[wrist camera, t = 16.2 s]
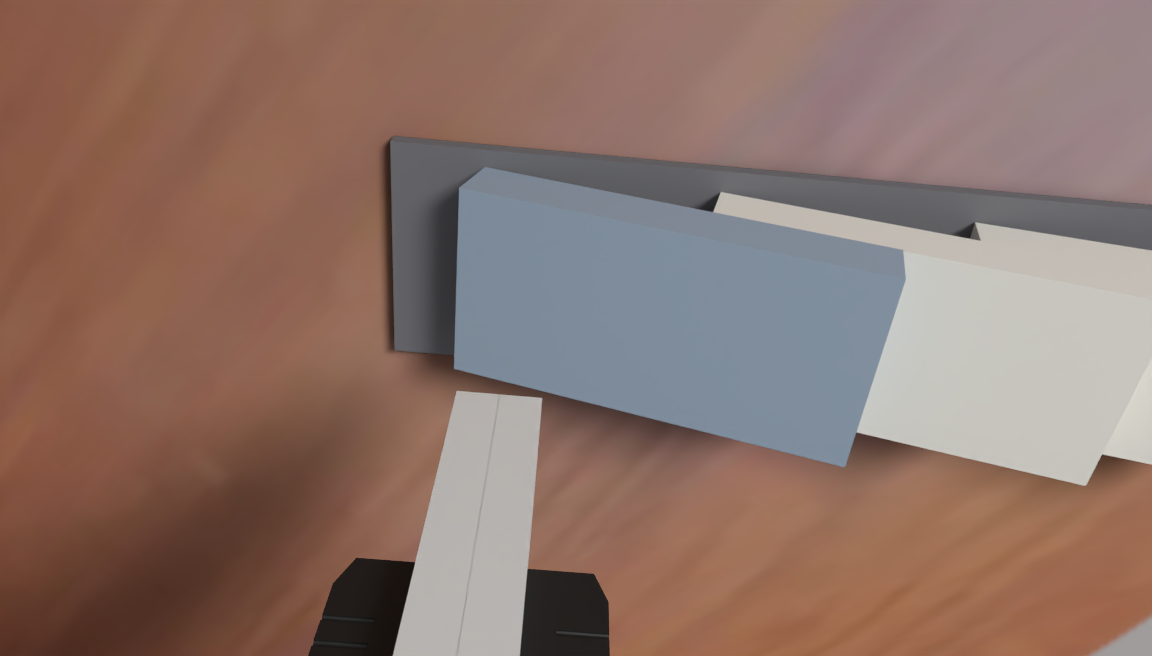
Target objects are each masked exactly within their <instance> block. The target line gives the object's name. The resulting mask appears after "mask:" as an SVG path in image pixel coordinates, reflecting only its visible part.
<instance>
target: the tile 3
mask: <svg viewBox="0 0 1152 656" xmlns="http://www.w3.org/2000/svg"><path fill="white" fill-rule="evenodd" d="M970 239H974V240H979V241H984V242H989V243H995V244H1000V245H1005V246H1011V247H1016V248H1021V249H1027V250H1032V251H1037V252H1043V253H1048V254H1053V255H1059V256H1064V257H1069V258H1075V259H1080V260H1085V261H1090V262H1096V263H1101V264H1106V265H1112V266H1117V267H1122V268H1128V269H1133V270H1138V271H1144V272H1149V273H1152V251H1151V250H1145V249H1139V248H1133V247H1126V246H1120V245H1114V244H1108V243H1101V242H1095V241H1089V240H1083V239H1077V238H1070V237H1064V236H1058V235H1052V234H1045V233H1039V232H1033V231H1027V230H1020V229H1014V228H1008V227H1002V226H995V225H989V224H983V223H977V222H975V224H974V227H973V230H972V233H971V236H970ZM1103 455H1108V456H1113V457H1118V458H1122V459H1127V460H1132V461H1137V462H1142V463H1147V464H1151V465H1152V358H1151V360H1150V362H1149V364H1148V366H1147V368H1146V370H1145V372H1144V374H1143V376H1142V378H1141V380H1140V382H1139V384H1138V386H1137V388H1136V389H1135V391H1134V393H1133V395H1132V397H1131V399H1130V401H1129V403H1128V405H1127V407H1126V409H1125V411H1124V413H1123V415H1122V417H1121V419H1120V421H1119V423H1118V424H1117V426H1116V428H1115V430H1114V432H1113V434H1112V436H1111V438H1110V440H1109V442H1108V444H1107V446H1106V448H1105V450H1104V452H1103Z"/></svg>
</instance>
